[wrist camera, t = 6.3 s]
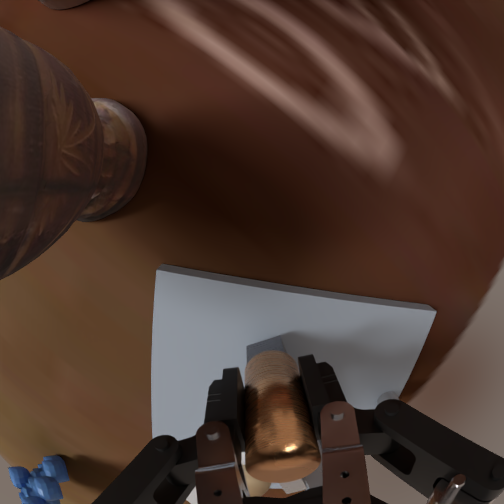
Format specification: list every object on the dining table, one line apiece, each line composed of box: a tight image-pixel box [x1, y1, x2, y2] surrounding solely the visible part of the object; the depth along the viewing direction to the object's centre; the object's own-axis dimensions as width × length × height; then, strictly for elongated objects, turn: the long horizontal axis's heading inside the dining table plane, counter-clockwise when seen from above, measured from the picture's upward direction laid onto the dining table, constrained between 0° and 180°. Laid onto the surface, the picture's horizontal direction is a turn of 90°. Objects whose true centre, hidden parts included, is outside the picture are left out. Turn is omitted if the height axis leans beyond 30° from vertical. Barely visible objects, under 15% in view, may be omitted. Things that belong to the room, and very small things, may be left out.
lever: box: [244, 335, 323, 494], centre depth 15 cm, size 19×4×8 cm, turn 20°
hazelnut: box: [242, 464, 271, 497], centre depth 18 cm, size 4×4×4 cm
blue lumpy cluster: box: [8, 455, 69, 504], centre depth 17 cm, size 12×7×12 cm, turn 137°
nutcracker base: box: [151, 264, 437, 504], centre depth 17 cm, size 20×18×6 cm
